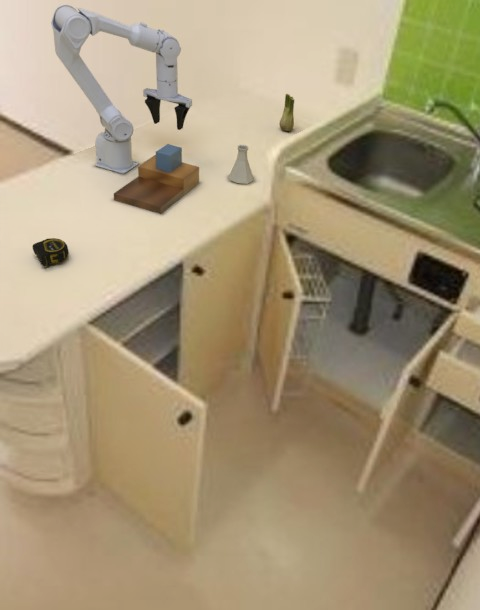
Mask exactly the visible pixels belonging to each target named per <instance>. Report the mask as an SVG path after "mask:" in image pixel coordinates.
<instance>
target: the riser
mask: <svg viewBox="0 0 480 610" xmlns="http://www.w3.org/2000/svg"><path fill="white" fill-rule="evenodd" d="M137 173H138V176H137V177H135V178H134V179H132V180H131V181H129V182H128V183H127V184H125V185H124V186H122V187H120V188H119V189H118V190H116V191H115V192H113V201H117V202H120V203H122V204H126V205H129V206H133V207H137V208H140V209H143V210H147V211H151V212H153V213H156V214H160V215H161V214H163V213H165V211H167V210H168V209H169V208H170V207H171V206H172V205H174V204H175V203H176V202H177V201H179V200H180V199H181V198H183V197H184V196H185V195H186V194H188V193H189V192H190V191H191V190H192V189H194V188H195V187H196V186H197V185H199V184H200V167H199V166H198V165H194V164H190V163H186V162H183V161H182V165H180V166H179V167H177V168H176V169H175V170H173V171H172V172H171V173H170V172H166V171H162V170H159V169H156V154H154V155H153V156H151V157H150V158H147V160H145V161H143V162H142V163H140V164H138V165H137Z"/></svg>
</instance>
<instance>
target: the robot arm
mask: <svg viewBox="0 0 480 610" xmlns="http://www.w3.org/2000/svg"><path fill="white" fill-rule="evenodd" d="M50 23H51V28H52V31H53V42H54V51H55V55H56V56H57V58H58V59H59V60H60V62H61V63H62V64H63V66H64V68H65V70H67V71H68V73H69V75H70V76H71V77H72V79H73V80H74V81H75V83H76V84H77V85H78V87H79V88H80V90H81V91H82V92H83V95H85V97H86V98H87V100H88V101H89V102H90V103H91V105H92V106H93V108H94V109H95V111H96V113H97V115H98V116H99V121H100V124H101V126H102V127H103V128H104V131H101V132H100V133H98V134H97V135H96V138H95V142H94V147H95V157H96V163H95V164H94V166H95V167H98V168H101V169H105V170H108V171H112V172H116V173H120V174H126V173H128V172H129V171H131V170H132V169H134V168H135V167H137V166H139V161H135V160H133V152H132V151H133V150H132V149H133V148H132V136H133V134H134V126H133V123H132V122H131V121H130V120H128V119H127V118H126V117H125V116H124V115H123V114H122V113H121V111H120V110H119V109H118V108H117V107H116V106H115V105H114V103H113V102H112V100H111V98H109V96H108V95H107V93H106V91H104V88H102V86H101V84H100V83H99V81H98V80H97V79H96V77H95V76H94V74H93V72H92V71H91V70H90V68H89V67H88V66H87V64H86V63H85V61H84V60H83V58H82V57H81V56H80V53H81V49H82V47H83V46H84V44H85V43H86V41H87V39H88V38H89V36H90V35H91V36H96V35H97V34H99V32H102V33H106V34H109V35H113V36H116V37H119V38H124V39H126V40H127V41H128V42H129V44H130V46H132V47H135V48H138V49H141V50H144V51H147V52H151V53H154V54H155V70H156V89H154V88H149V87H146V88H143V90H142V94H143V95H142V97H145V98H146V99H144V104H145V105H146V106H147V108H148V110H149V112H150V115H151V118H152V121H153V125H157V124H158V123H160V121H161V110H160V109H161V101H163V102H168V103H172V104H177V105H176V106H174V112H175V117H176V129H177V131H181V130H182V129H184V123H185V120H186V117H187V114H188V112H189V111H190V108H191V107H192V106H193V99H192V98H189V97H187V96H184V95H182V94H180V93H179V82H178V77H179V76H178V57H179V56H180V54H181V52H182V47H181V46H180V43H179V40H177V38H175V37H174V36H173V35H171V34H169V33H168V32H166V31H165V30H163V29H161V28H158V29H155V28H152V27H149V26H148V24H147V23H145V22H144V21H143V22H142V21H141V22H140V23H138V22H135V23H132V24H131V25H128V24H126V23H122V22H120V21H117V20H116V19H113V18H110V17H107V16H104V15H103V14H100V13H97V12H94V11H90V10H88V9H85V8H81V7H76V8H75V7H73V6H72V5H69V4H62V5H59V6H57V7H56V9H55V10H54V12H53V15H52V19H51V22H50Z"/></svg>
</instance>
